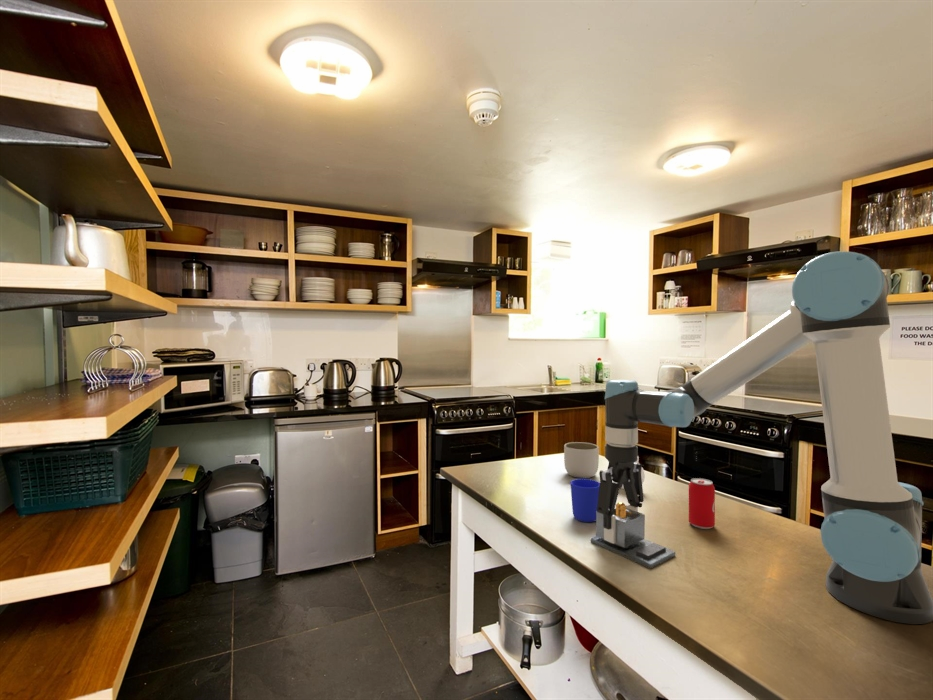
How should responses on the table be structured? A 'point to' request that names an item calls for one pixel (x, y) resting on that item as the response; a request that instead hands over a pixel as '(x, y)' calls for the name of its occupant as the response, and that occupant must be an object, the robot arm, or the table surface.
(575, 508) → the mug
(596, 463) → the planter
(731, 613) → the table surface
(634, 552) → the keeper
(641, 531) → the hollow square tube
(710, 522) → the beverage can
